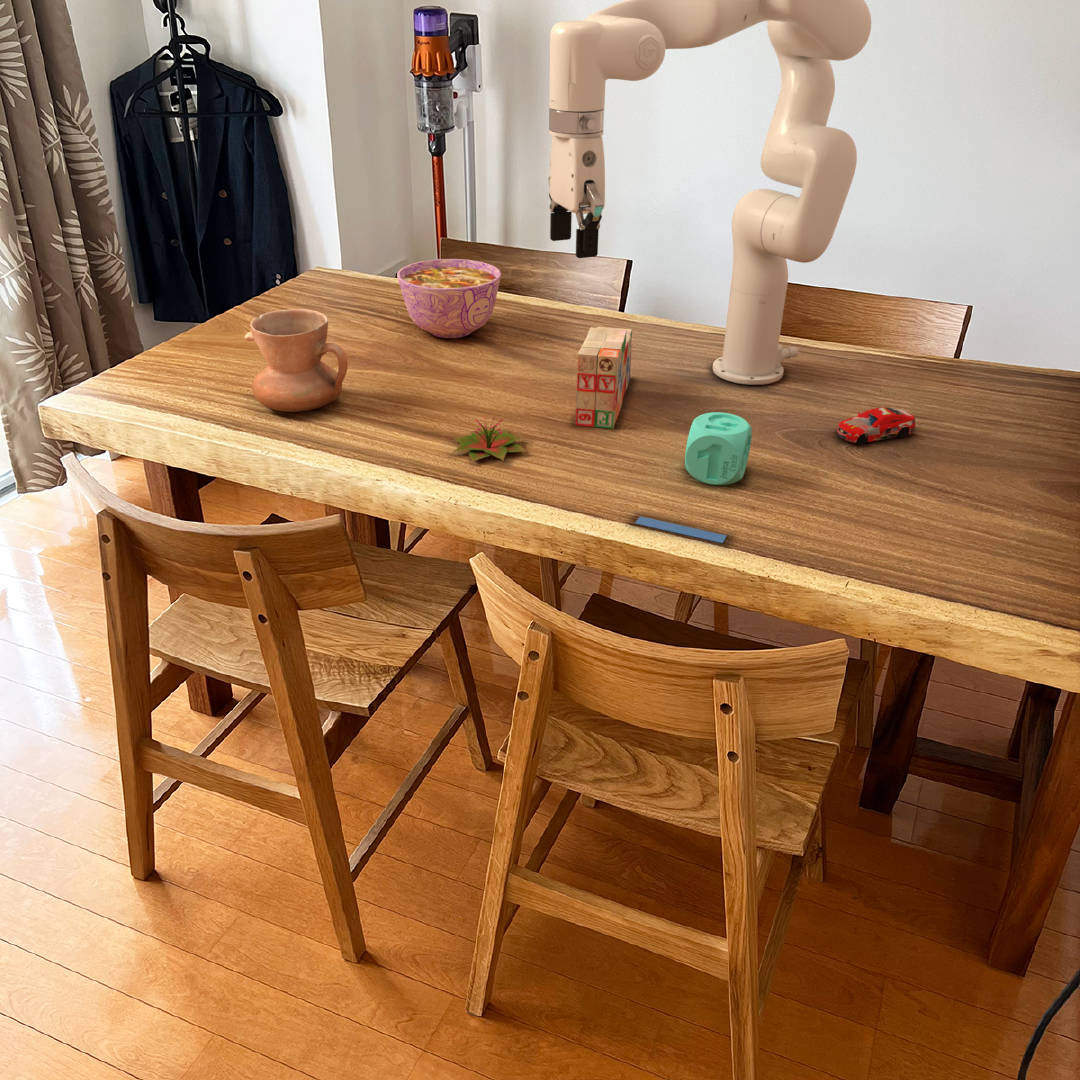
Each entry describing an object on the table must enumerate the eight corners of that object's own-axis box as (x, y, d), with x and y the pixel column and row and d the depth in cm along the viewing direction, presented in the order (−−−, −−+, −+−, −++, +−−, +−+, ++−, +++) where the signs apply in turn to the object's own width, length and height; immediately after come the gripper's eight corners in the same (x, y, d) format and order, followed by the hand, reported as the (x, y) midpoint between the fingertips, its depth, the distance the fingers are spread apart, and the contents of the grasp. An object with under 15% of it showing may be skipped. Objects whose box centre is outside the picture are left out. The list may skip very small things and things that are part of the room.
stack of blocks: (595, 376, 175) (598, 309, 169) (630, 379, 174) (634, 311, 168) (575, 425, 157) (577, 352, 151) (613, 429, 156) (617, 355, 150)
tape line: (635, 523, 131) (635, 523, 131) (639, 516, 133) (639, 516, 133) (722, 543, 127) (722, 542, 127) (726, 536, 129) (726, 535, 128)
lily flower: (465, 472, 143) (464, 444, 141) (439, 439, 152) (437, 412, 150) (540, 458, 147) (541, 430, 145) (510, 426, 156) (510, 400, 154)
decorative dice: (682, 480, 142) (687, 429, 138) (695, 456, 148) (700, 408, 144) (737, 490, 139) (744, 439, 135) (747, 466, 146) (754, 416, 142)
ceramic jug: (230, 411, 160) (216, 327, 153) (280, 380, 172) (269, 300, 164) (327, 429, 155) (317, 343, 148) (371, 395, 167) (364, 314, 159)
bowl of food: (499, 350, 186) (498, 289, 180) (393, 348, 186) (389, 288, 180) (504, 315, 203) (503, 259, 197) (407, 313, 203) (404, 257, 197)
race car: (848, 448, 151) (852, 425, 149) (828, 434, 156) (832, 411, 154) (919, 436, 155) (924, 413, 153) (897, 422, 159) (902, 400, 157)
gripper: (628, 131, 129) (621, 261, 138) (576, 112, 142) (573, 231, 151) (575, 134, 126) (572, 266, 135) (528, 114, 140) (528, 235, 149)
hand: (573, 248), depth 143 cm, fingers open, 9 cm apart
